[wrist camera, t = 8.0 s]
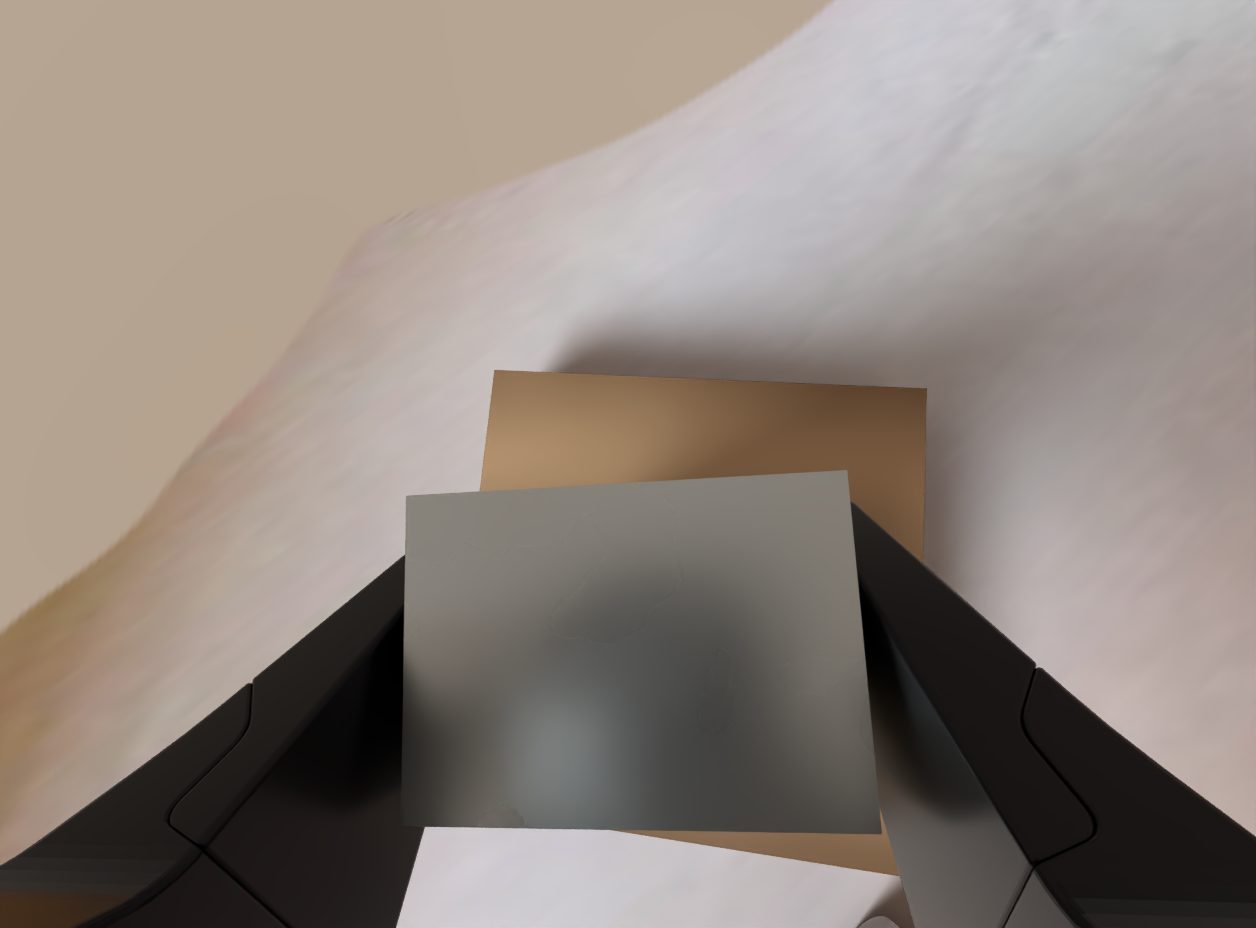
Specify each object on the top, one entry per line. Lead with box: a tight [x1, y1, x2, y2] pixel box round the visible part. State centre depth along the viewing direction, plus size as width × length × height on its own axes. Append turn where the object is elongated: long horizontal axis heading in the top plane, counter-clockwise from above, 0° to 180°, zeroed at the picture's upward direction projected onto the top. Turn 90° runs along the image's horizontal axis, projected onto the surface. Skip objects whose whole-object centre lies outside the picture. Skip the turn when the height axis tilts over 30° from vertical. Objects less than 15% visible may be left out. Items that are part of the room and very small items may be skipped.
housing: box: [401, 470, 882, 834], centre depth 12 cm, size 4×6×10 cm
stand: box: [480, 370, 927, 876], centre depth 18 cm, size 12×12×3 cm
